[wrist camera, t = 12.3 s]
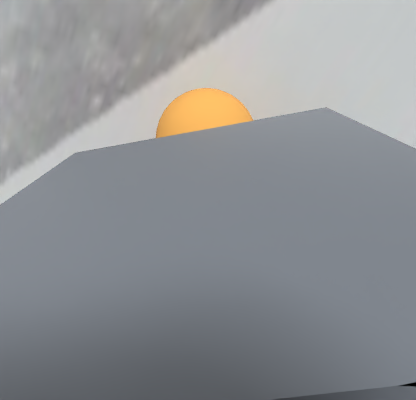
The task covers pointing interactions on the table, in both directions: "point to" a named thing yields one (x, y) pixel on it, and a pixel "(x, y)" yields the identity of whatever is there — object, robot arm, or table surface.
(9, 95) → the table surface
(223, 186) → the grey matte cube
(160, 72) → the table surface
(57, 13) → the table surface
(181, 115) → the ball
